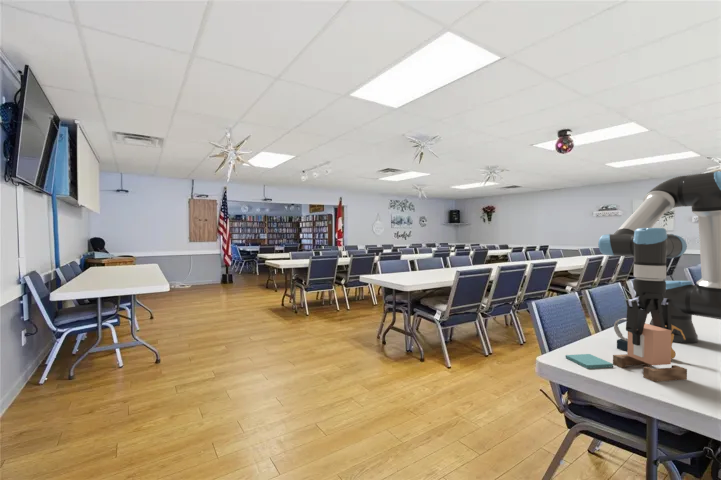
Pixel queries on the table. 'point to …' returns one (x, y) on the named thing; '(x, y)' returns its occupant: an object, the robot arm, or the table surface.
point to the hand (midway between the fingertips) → (648, 354)
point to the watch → (623, 341)
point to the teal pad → (589, 361)
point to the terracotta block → (653, 345)
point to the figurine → (672, 341)
